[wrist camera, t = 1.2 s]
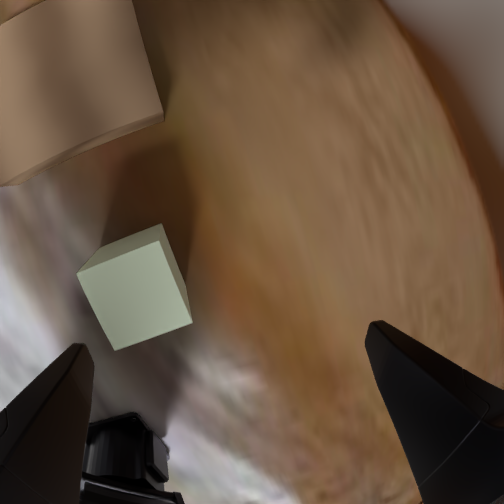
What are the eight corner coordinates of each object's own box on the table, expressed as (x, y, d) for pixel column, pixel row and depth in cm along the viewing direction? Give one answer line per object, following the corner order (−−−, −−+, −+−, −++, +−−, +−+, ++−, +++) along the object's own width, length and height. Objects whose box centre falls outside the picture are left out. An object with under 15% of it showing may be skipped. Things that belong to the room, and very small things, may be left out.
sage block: (126, 307, 21) (114, 350, 15) (99, 247, 19) (76, 273, 14) (185, 285, 21) (192, 322, 16) (161, 223, 20) (158, 240, 15)
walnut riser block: (20, 184, 17) (-3, 187, 14) (-4, 55, 14) (-25, 41, 11) (164, 122, 19) (163, 111, 16) (128, -6, 16) (124, -31, 13)
